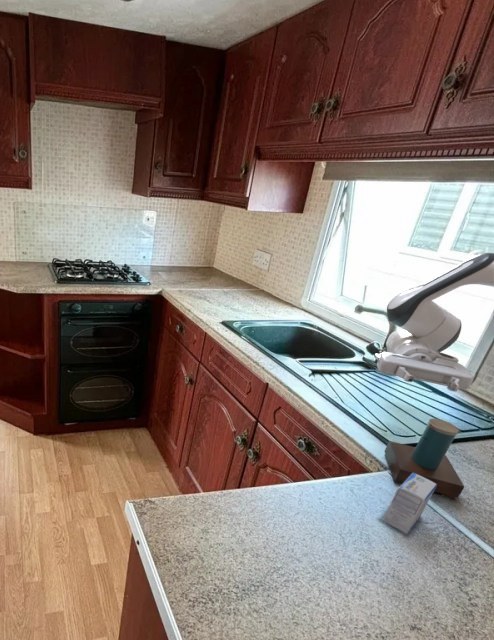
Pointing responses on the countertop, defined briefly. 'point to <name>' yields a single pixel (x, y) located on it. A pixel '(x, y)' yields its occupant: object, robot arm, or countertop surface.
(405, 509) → the medicine box
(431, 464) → the teal canister
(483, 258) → the robot arm
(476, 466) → the countertop surface
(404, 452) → the walnut platform
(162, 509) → the countertop surface
